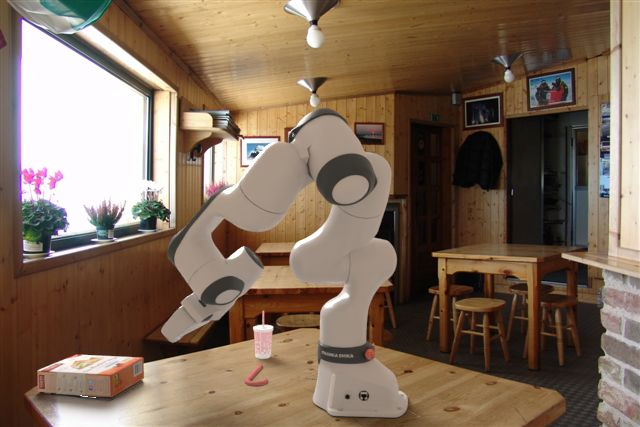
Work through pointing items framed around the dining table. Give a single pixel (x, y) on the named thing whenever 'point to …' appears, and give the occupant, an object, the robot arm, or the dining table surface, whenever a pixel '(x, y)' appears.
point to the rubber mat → (118, 393)
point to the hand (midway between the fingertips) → (173, 339)
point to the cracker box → (91, 375)
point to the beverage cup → (263, 340)
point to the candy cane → (253, 374)
